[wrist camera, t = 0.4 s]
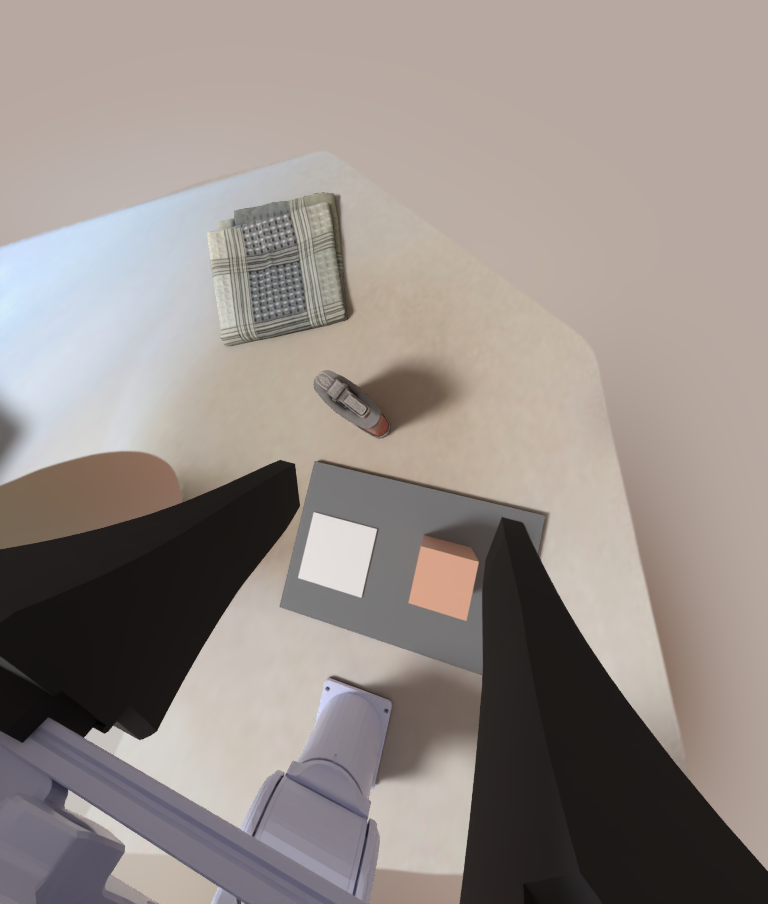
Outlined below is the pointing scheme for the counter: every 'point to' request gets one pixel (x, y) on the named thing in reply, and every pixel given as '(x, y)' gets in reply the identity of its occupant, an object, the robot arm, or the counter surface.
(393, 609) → the mat
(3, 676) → the robot arm
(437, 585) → the copper orange block
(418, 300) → the counter surface
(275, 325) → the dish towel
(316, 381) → the lighter
